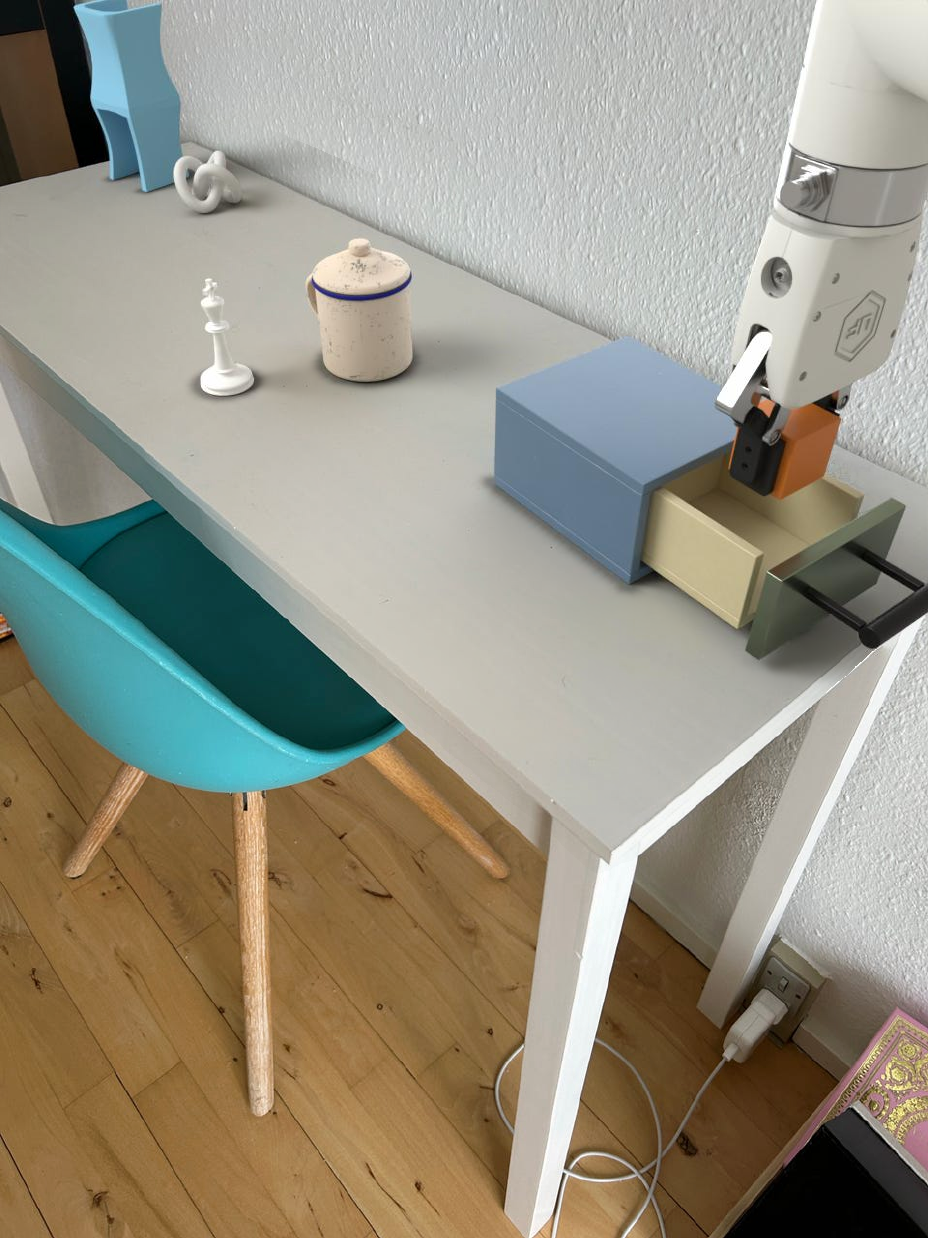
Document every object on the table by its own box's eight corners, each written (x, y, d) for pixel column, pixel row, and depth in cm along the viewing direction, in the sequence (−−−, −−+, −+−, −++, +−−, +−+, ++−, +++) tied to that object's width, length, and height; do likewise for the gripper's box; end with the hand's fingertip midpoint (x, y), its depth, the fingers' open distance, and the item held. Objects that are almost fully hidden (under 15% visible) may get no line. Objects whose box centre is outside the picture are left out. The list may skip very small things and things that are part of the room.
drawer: (949, 628, 66) (986, 549, 61) (831, 714, 60) (862, 634, 55) (720, 487, 78) (737, 411, 73) (604, 548, 72) (614, 470, 67)
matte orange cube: (771, 446, 66) (786, 388, 63) (824, 476, 64) (842, 418, 61) (727, 469, 64) (740, 410, 61) (780, 500, 62) (796, 441, 59)
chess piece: (190, 390, 91) (168, 286, 84) (219, 365, 94) (199, 264, 87) (236, 400, 89) (217, 295, 82) (263, 375, 93) (247, 272, 86)
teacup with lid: (434, 357, 95) (431, 238, 87) (370, 395, 90) (361, 272, 82) (345, 321, 101) (335, 206, 93) (280, 355, 95) (263, 236, 87)
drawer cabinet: (756, 514, 77) (780, 417, 70) (629, 585, 70) (644, 484, 64) (616, 428, 86) (627, 335, 80) (493, 483, 80) (495, 387, 74)
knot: (258, 198, 126) (251, 150, 122) (225, 221, 120) (217, 171, 116) (207, 191, 128) (199, 143, 124) (173, 212, 122) (163, 163, 118)
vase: (194, 175, 132) (162, 3, 118) (146, 191, 127) (108, 15, 114) (157, 162, 135) (122, -6, 122) (109, 178, 131) (68, 5, 117)
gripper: (806, 245, 45) (732, 549, 58) (1007, 168, 53) (903, 453, 65) (688, 197, 50) (643, 490, 62) (888, 132, 57) (812, 405, 70)
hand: (777, 468), depth 64 cm, fingers closed on matte orange cube, 4 cm apart
